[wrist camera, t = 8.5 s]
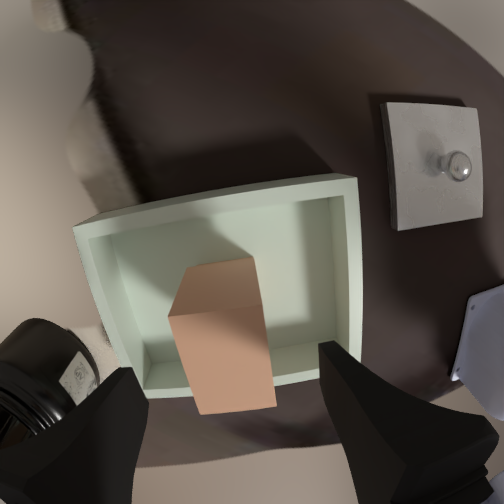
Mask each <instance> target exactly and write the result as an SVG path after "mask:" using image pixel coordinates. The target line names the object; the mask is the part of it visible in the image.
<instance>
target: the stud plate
mask: <svg viewBox="0 0 504 504" xmlns="http://www.w3.org/2000/svg"><path fill="white" fill-rule="evenodd" d="M380 111H381V117H382V125H383V132H384V140H385V149H386V158H387V169H388V181H389V196H390V218H391V227H392V228H393V229H395V230H397V231H400V230H406V229H412V228H418V227H424V226H430V225H436V224H443V223H449V222H455V221H461V220H467V219H473V218H479V217H482V215H483V174H482V154H481V141H480V131H479V122H478V115H477V109H475V108H467V107H458V106H448V105H435V104H419V103H392V102H386V103H383V104H380Z"/></svg>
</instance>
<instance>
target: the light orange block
mask: <svg viewBox="0 0 504 504" xmlns="http://www.w3.org/2000/svg"><path fill="white" fill-rule="evenodd" d="M168 320H169V323H170V327H171V330H172V333H173V337H174V340H175V343H176V346H177V349H178V352H179V355H180V359H181V362H182V365H183V368H184V371H185V373H186V376H187V379H188V382H189V385H190V388H191V391H192V393H193V396H194V399H195V402H196V404H197V407H198V410H199V412H200V414H214V413H226V412H236V411H245V410H253V409H261V408H268V407H275V406H277V404H276V397H275V390H274V383H273V375H272V368H271V361H270V354H269V347H268V340H267V333H266V326H265V318H264V311H263V304H262V299H261V293H260V288H259V282H258V277H257V271H256V266H255V260H254V258H253V257H247V258H240V259H234V260H227V261H220V262H213V263H206V264H200V265H196V266H194V267H187V268H186V271H185V273H184V276H183V278H182V281H181V283H180V286H179V288H178V291H177V294H176V296H175V299H174V301H173V304H172V307H171V309H170V312H169V314H168Z"/></svg>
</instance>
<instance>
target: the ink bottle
mask: <svg viewBox="0 0 504 504" xmlns="http://www.w3.org/2000/svg"><path fill="white" fill-rule="evenodd" d="M99 385H100V377H99V371H98V368H97V365H96V363H95V361H94V359H93V358H92V356H91V354H90V353H89V352H88V350H87V349H86V348H85V347H84V346H83V345H82V344H81V343H80V342H79V341H78V340H77V339H76V338H75V337H74V336H73V335H71V334H70V333H69V332H68V331H66V330H65V329H63V328H62V327H60V326H58V325H56V324H55V323H52V322H50V321H47V320H44V319H40V318H32V319H28V320H26V321H24V322H22V323H21V324H20V325H19V326H18V327H17V328H16V329H15V330H14V331H13V332H12V333H11V334H10V335H9V336H8V337H7V338H6V339H5V340H4V341H3V342H2V343H1V344H0V450H1V449H4V448H7V447H10V446H13V445H15V444H18V443H20V442H22V441H25V440H27V439H29V438H31V437H33V436H34V435H36V434H38V433H40V432H41V431H43V430H45V429H47V428H48V427H50V426H51V425H53V424H54V423H56V422H57V421H59V420H60V419H61V418H63V417H64V416H65V415H67V414H68V413H69V412H70V411H71V410H73V409H74V408H75V407H76V406H77V405H78V404H80V403H81V402H82V401H83V400H84V399H85V398H86V397H87V396H88V395H90V394H91V393H92V392H93V391H94V390H95V389H96V388H97V387H98V386H99Z"/></svg>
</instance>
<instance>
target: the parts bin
mask: <svg viewBox="0 0 504 504" xmlns="http://www.w3.org/2000/svg"><path fill="white" fill-rule="evenodd" d="M72 229H73V233H74V237H75V240H76V244H77V248H78V251H79V255H80V258H81V261H82V264H83V268H84V271H85V274H86V277H87V281H88V284H89V287H90V289H91V292H92V295H93V298H94V301H95V304H96V306H97V309H98V312H99V314H100V317H101V320H102V322H103V325H104V328H105V330H106V333H107V335H108V337H109V340H110V342H111V345H112V347H113V349H114V352H115V354H116V356H117V359H118V361H119V363H120V365H121V367H132V368H133V370H134V372H135V375H136V377H137V379H138V381H139V383H140V386H141V388H142V390H143V392H144V394H145V396H146V398H168V397H185V396H193V393H192V391H191V388H190V385H189V382H188V379H187V376H186V373H185V371H184V368H183V365H182V362H181V359H180V355H179V352H178V349H177V346H176V343H175V340H174V337H173V333H172V330H171V327H170V323H169V320H168V314H169V312H170V309H171V307H172V304H173V301H174V299H175V296H176V294H177V291H178V288H179V286H180V283H181V281H182V278H183V276H184V273H185V271H186V268H187V267H194V266H196V265H200V264H206V263H213V262H220V261H227V260H234V259H240V258H247V257H253V258H254V260H255V266H256V271H257V277H258V282H259V288H260V293H261V299H262V304H263V311H264V318H265V326H266V333H267V340H268V347H269V354H270V361H271V368H272V375H273V383H274V386H278V385H284V384H290V383H295V382H300V381H306V380H311V379H315V378H319V353H318V343H323V342H327V341H332V340H334V341H336V342H337V343H338V344H339V345H340V346H342V347H343V348H344V349H345V350H346V351H347V352H348V353H349V354H351V355H352V356H353V357H354V358H355V359H356V360H358V361H359V362H361V343H362V304H363V282H362V243H361V223H360V208H359V195H358V183H357V177H353V176H348V175H343V174H339V173H329V174H320V175H312V176H304V177H296V178H288V179H281V180H274V181H267V182H260V183H254V184H247V185H241V186H235V187H229V188H223V189H217V190H211V191H206V192H200V193H195V194H189V195H184V196H179V197H174V198H169V199H164V200H159V201H154V202H149V203H145V204H140V205H135V206H131V207H126V208H122V209H117V210H113V211H109V212H105V213H101V214H97V215H95V216H93V217H91V218H89V219H87V220H85V221H83V222H81V223H79V224H78V225H75V226H74V227H72Z"/></svg>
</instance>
